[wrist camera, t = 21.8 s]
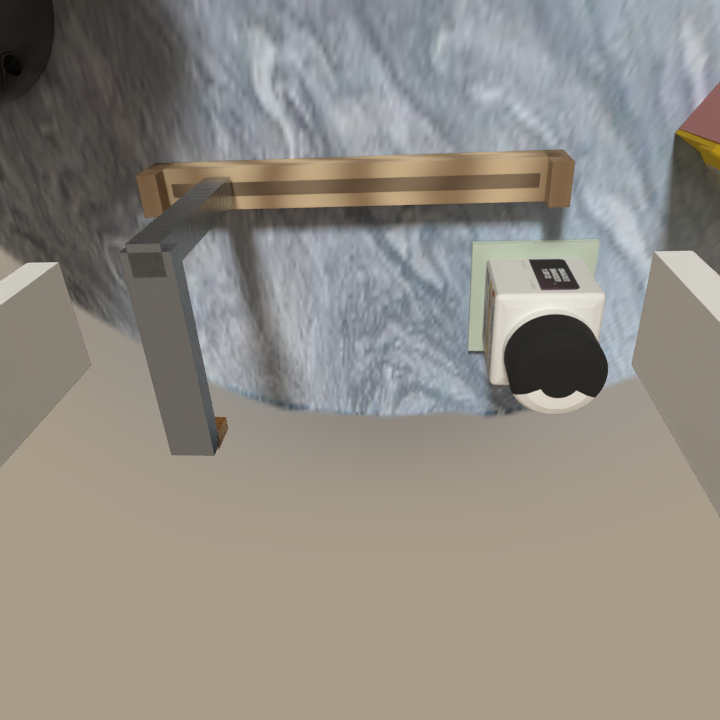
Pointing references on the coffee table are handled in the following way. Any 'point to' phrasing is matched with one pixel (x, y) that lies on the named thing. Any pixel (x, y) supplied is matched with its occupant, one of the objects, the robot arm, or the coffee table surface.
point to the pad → (516, 249)
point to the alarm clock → (705, 130)
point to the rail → (371, 180)
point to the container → (544, 331)
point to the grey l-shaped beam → (176, 315)
